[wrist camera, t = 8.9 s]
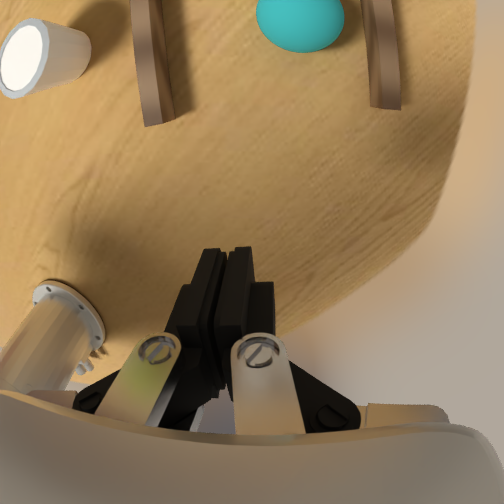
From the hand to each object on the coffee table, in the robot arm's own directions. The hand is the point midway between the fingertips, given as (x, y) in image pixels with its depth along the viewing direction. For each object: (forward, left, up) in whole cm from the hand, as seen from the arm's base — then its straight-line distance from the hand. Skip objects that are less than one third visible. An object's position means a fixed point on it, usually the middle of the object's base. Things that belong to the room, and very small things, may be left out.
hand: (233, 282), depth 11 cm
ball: (+12, -4, -13) cm, 18 cm away
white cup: (+14, +16, -16) cm, 27 cm away
